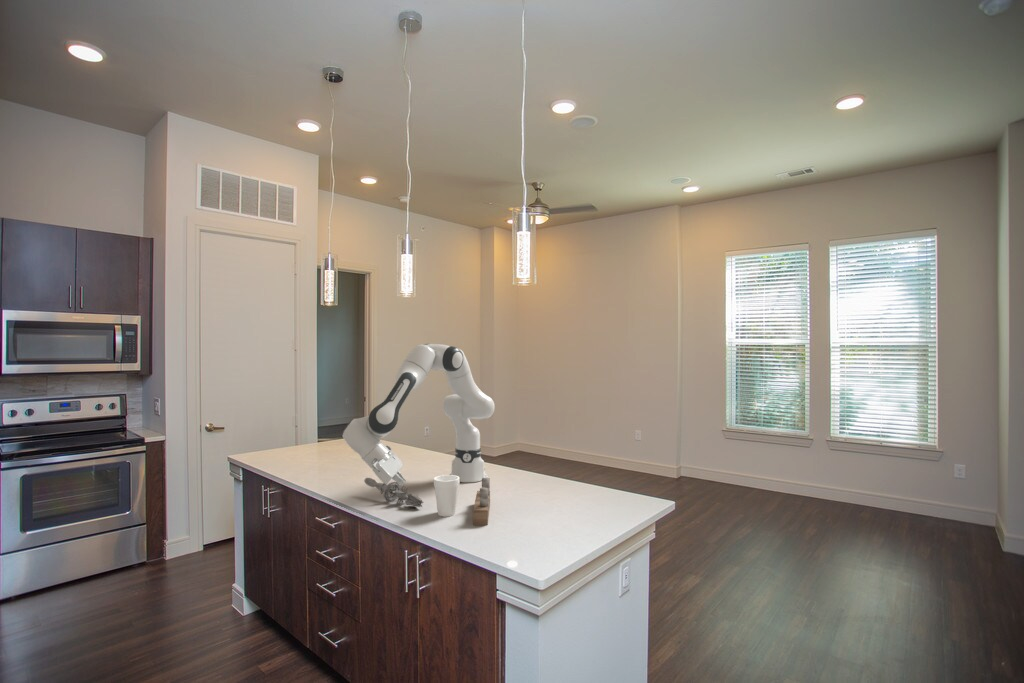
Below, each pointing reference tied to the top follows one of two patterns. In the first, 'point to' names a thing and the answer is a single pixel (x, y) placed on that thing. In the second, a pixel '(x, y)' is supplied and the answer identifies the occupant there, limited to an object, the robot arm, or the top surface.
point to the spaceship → (395, 493)
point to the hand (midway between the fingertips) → (404, 483)
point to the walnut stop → (482, 504)
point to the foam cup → (446, 494)
